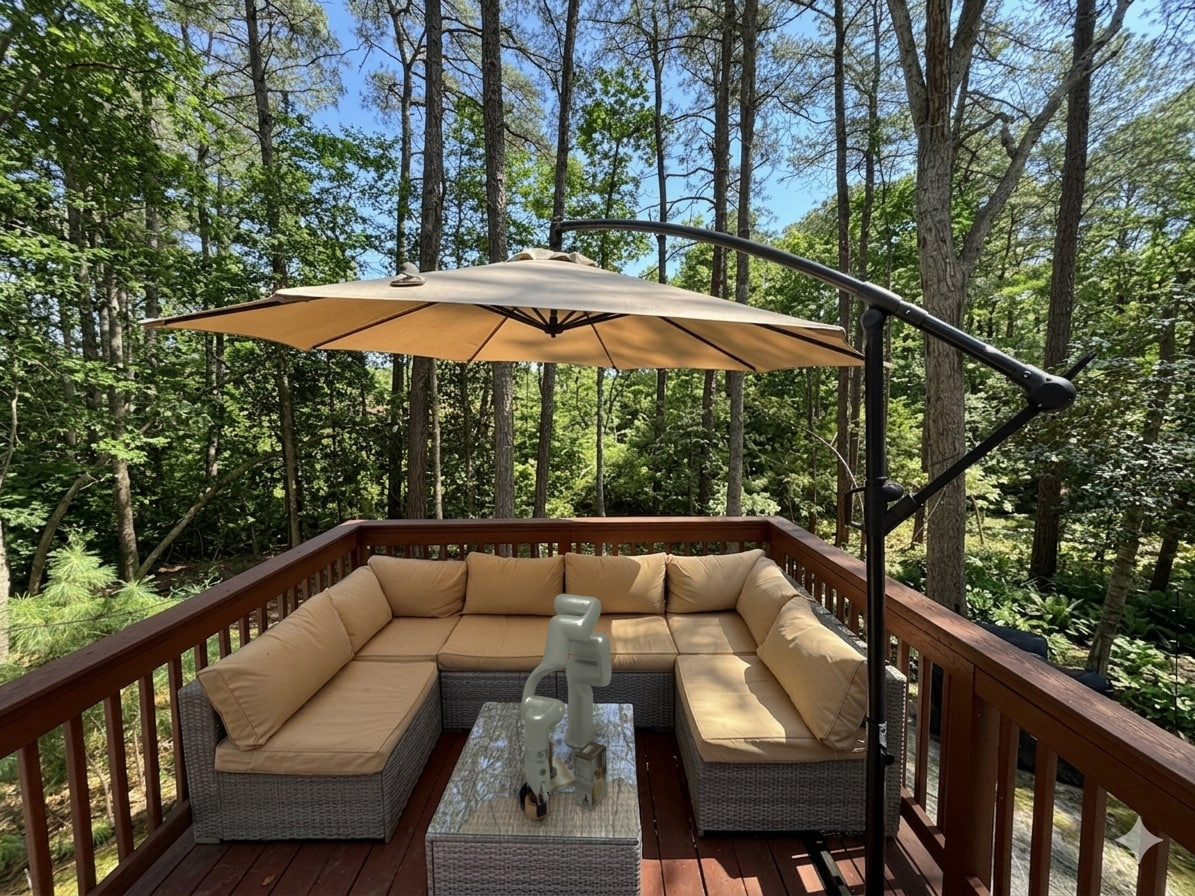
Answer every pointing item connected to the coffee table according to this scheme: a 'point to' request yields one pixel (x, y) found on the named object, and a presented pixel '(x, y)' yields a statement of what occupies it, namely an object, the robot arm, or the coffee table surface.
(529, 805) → the beige thick ring
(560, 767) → the post board
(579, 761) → the coffee box
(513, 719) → the coffee table surface
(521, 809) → the coffee table surface
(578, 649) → the robot arm
